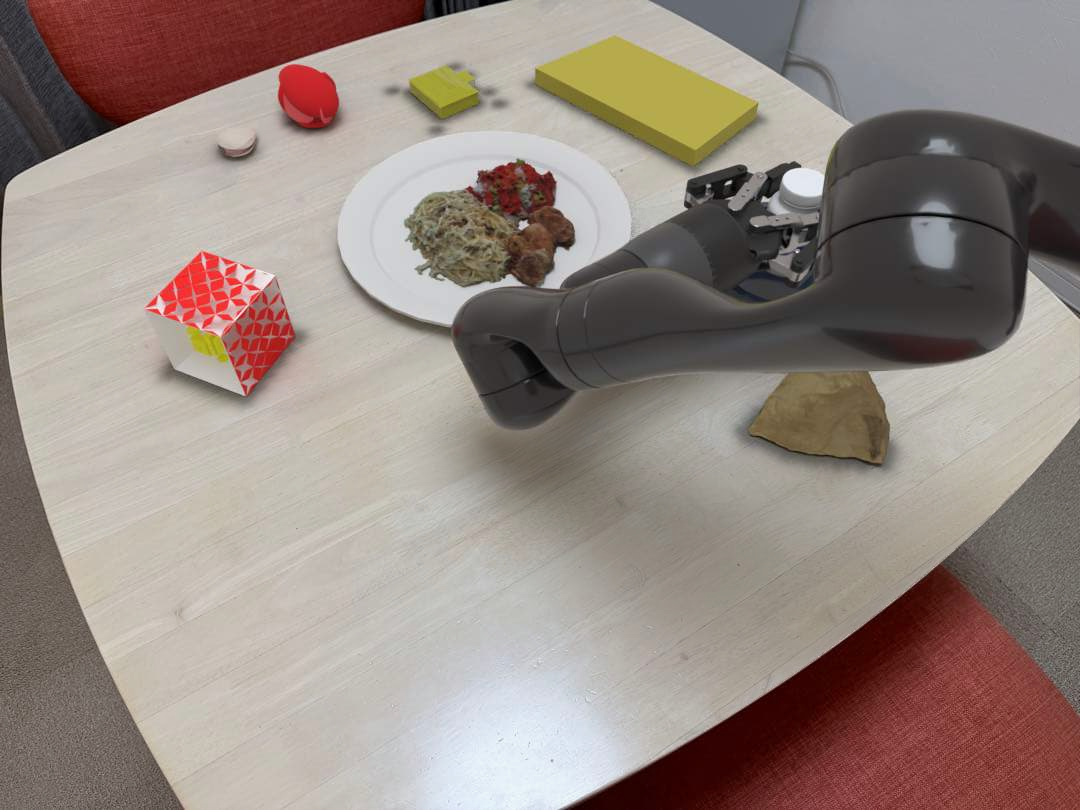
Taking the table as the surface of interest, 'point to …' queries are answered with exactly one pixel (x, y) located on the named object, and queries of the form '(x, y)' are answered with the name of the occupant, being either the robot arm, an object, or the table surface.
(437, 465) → the table surface
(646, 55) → the flat olive board
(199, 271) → the red patterned cube
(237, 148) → the macaroon
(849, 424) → the rock
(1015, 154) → the robot arm
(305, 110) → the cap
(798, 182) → the pill bottle
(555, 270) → the plated food
